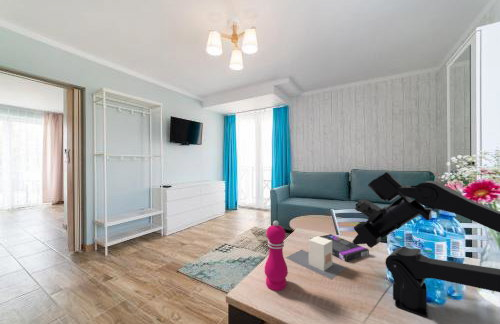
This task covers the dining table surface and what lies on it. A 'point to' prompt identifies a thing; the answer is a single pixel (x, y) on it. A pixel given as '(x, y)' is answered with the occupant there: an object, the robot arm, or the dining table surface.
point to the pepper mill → (276, 258)
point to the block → (320, 253)
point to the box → (346, 248)
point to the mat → (303, 259)
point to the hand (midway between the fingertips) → (355, 241)
